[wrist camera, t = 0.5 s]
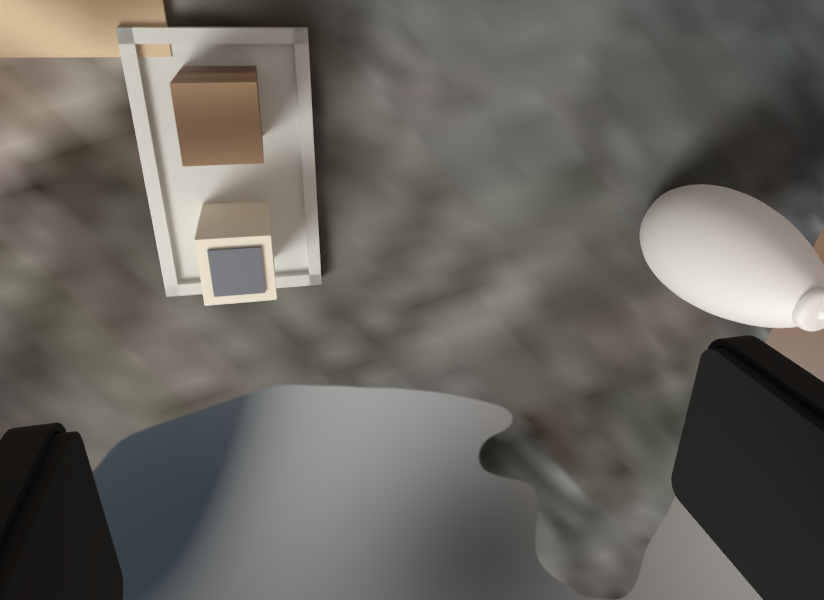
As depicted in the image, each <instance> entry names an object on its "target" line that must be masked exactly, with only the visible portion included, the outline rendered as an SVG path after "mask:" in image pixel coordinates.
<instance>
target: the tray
mask: <svg viewBox="0 0 824 600" xmlns="http://www.w3.org/2000/svg"><path fill="white" fill-rule="evenodd" d="M116 33H117V38H118V43H119V48H120V54H121V59H122V64H123V70H124V75H125V80H126V85H127V91H128V96H129V101H130V106H131V112H132V117H133V122H134V128H135V133H136V138H137V143H138V149H139V154H140V159H141V164H142V170H143V175H144V180H145V186H146V191H147V196H148V201H149V207H150V212H151V217H152V222H153V228H154V233H155V238H156V244H157V249H158V254H159V259H160V265H161V270H162V275H163V280H164V286H165V291H166V296H167V297H171V296H183V295H196V294H203V292H202V286H201V280H200V273H199V267H198V261H197V254H196V248H195V242H194V239H195V235H196V230H197V226H198V221H199V217H200V213H201V208H202V204H203V203H221V202H241V201H260V200H269V210H270V221H271V231H272V242H273V253H274V266H275V281H276V288H284V287H296V286H309V285H321V265H320V247H319V228H318V210H317V191H316V172H315V154H314V135H313V116H312V98H311V79H310V61H309V42H308V28H307V27H200V26H168V27H116ZM136 44H170V50H171V56H172V57H138V52H137V46H136ZM182 66H256V69H257V80H258V91H259V102H260V113H261V123H262V134H263V154H264V163H260V164H234V165H208V166H183V165H182V159H181V153H180V146H179V140H178V134H177V127H176V121H175V115H174V108H173V102H172V96H171V89H170V82H171V81H172V79H173V78H174V77H175V75H176V74H177V73H178V71H179V70H180V69H181V68H182Z"/></svg>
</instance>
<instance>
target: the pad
mask: <svg viewBox="0 0 824 600" xmlns="http://www.w3.org/2000/svg"><path fill="white" fill-rule="evenodd" d="M116 27H168V22H167V15H166V9H165V2H164V0H0V57H121V54H120V48H119V43H118V38H117V33H116ZM136 46H137V52H138V57H172V56H171V50H170V44H136Z"/></svg>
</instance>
